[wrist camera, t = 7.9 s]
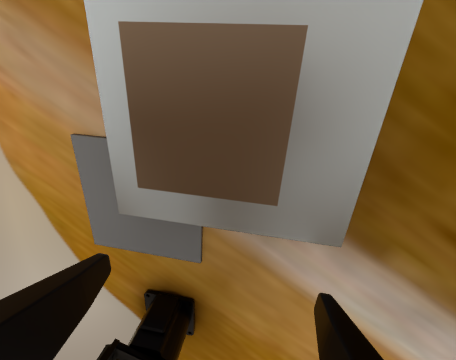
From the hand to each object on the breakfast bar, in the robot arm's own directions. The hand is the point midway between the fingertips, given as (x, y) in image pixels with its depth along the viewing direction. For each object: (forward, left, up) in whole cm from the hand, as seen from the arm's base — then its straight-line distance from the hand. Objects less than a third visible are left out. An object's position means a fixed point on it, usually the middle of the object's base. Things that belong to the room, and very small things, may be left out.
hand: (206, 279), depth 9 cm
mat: (-4, +10, -12) cm, 16 cm away
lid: (+7, 0, -3) cm, 7 cm away
